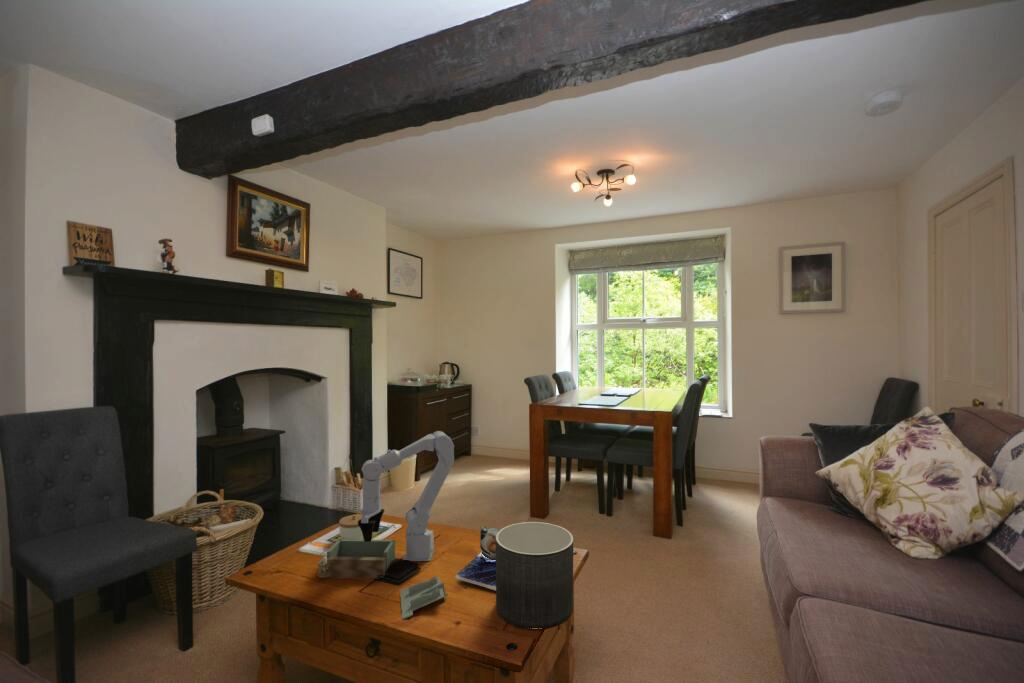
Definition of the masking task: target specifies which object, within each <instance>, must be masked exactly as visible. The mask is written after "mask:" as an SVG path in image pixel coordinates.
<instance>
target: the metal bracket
mask: <svg viewBox="0 0 1024 683" xmlns="http://www.w3.org/2000/svg"><path fill="white" fill-rule="evenodd" d="M400 595H401V599H400V610H402V614H401V613H400V619H401V620H402V619H403V620H405V619H408V618H410V617H412V616H414V613H413V612H414V611H416V610H418V609H420V608H423V607H426V606H428V605H429V604H432V603H434V602H436V601H439V600H441V599H443V600H444V601H446V597H448V593H446V590H445V583H444V582H442V580H441V577H436V576H432V577H431V578H430V579H429V580H426V581H421V582H418V583H415V584H413V585H411V586H407V587H405V588H403V589H400V590H399V596H400ZM401 615H402V617H401Z"/></svg>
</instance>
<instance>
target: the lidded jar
mask: <svg viewBox="0 0 1024 683" xmlns="http://www.w3.org/2000/svg"><path fill="white" fill-rule="evenodd" d="M361 517H362V514H358V513H357V514H351V515H346V516H343V517H342V518H340V519H339V521H338V525H339V526H338V527H339V534H340V537H341V539H347V540H360V539H362V540H363V539H364V538H363V534H362V531H361V529H360V527H359V525H358V521H359V520H361Z"/></svg>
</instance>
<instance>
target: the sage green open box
mask: <svg viewBox="0 0 1024 683" xmlns="http://www.w3.org/2000/svg"><path fill="white" fill-rule="evenodd" d="M330 557H386V567H388V565H389V564H390V562H391V561H392V560H394V559H395V560H396V539H371V541H370V542H365V541H364V539H362V540H347V539H343V538H341V539H340V538H339V539H337V540H336V541H335V542H334V544H332V545H331V546H330V548H329V549H328V550H327V551H326V556H323V557H322V559H323V564H326V563H327V559H329V558H330ZM395 560H394V561H395ZM327 568H328V567H327ZM327 568H322V569H323V573H327Z"/></svg>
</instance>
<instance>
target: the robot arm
mask: <svg viewBox="0 0 1024 683" xmlns="http://www.w3.org/2000/svg"><path fill="white" fill-rule="evenodd" d="M423 451H430V452H434V451H435V453H436V457H437V458H438V462H437V463H436V465H435V467H434V469H433V471H432V473H431V475H430V477H429V478H428V479H429V480H428V481H427V482H426V485H425V486H424V489H423V491H422V493H421V494H420V496H419V499H418V500H417V501H416V502H415V503H414V504H413V506H412V507H411V508H410V509H408V511H407V512H406V514H405V522H406V523H407V527H406V529H405V553H404V555H403V558H402V560H403V559H405V560H410V561H409V562H429V561H431V559H432V556H433V554H434V551H435V550H434V546H435V545H434V543H435V542H434V539H435V538H434V536H435V534H434V531H433V530H429V529H428V525H429V520H430V517H431V511H432V510H431V509H432V506H433V505H434V504H435V501H436V499H437V497H438V495H439V493H440V491H441V489H442V487H443V485H444V483H445V481H446V479H447V477H448V475H449V473H450V471H451V470H452V468H453V465H454V463H455V445H454V442H453V440H452V438H451V437H450V436H448V435H447V434H446V433H445V432H444V431H441V430H436V431H434V432H433V433H428V434H427V435H425V436H423V437H421V438H420V439H418V440H417V441H414V442H412V443H411V444H409V445H407V446H405V447H404V448H402V449H400V450H397V449H392V450H391V449H387V450H386V453H384V454H381V455H379V456H375V457H373V459H368V460H366V461H365V462H364V463H363V464H362V467H361V472H362V474H363V476H362V477H363V478H362V507H361V508H359V510H358V512H359V513H361V515H362V517H361V520H359V521H358V525H359V527H360V529H361V531H362V534H363V538H362V539H363V540H364V541H365V542H370V541H371V540H373V539H372V538H373V533H378V532H379V530H380V526H381V521H382V517H383V514H384V513H385V508H382V504H381V503H382V502H381V482H380V477H381V475H382V474H384V473H387V472H388V471H390V470H392V469H394V468H397V467H399V466H400V465H401V464H402V462H403V460H404V459H407V458H409V457H412V456H414V455H416V454H418V453H421V452H423Z"/></svg>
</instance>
